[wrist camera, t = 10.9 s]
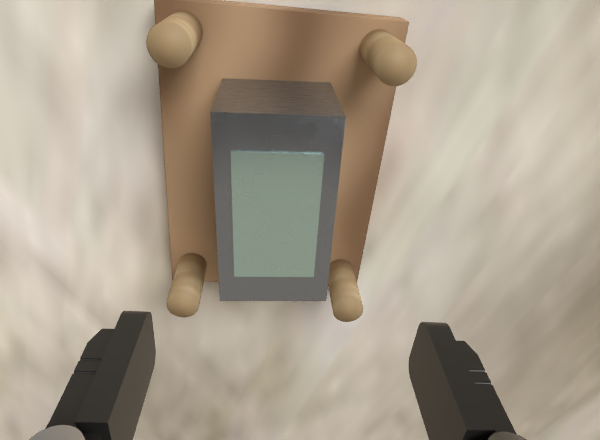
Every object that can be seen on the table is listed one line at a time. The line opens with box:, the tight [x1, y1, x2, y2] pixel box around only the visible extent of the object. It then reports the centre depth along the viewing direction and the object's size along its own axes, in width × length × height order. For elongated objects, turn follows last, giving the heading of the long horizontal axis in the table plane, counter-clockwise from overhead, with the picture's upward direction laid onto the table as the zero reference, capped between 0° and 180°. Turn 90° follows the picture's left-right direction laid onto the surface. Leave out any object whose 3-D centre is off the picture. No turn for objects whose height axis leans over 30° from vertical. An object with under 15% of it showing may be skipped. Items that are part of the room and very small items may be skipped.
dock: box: [146, 0, 417, 322], centre depth 22 cm, size 11×15×5 cm
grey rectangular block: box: [210, 78, 346, 301], centre depth 21 cm, size 5×9×5 cm, turn 177°
